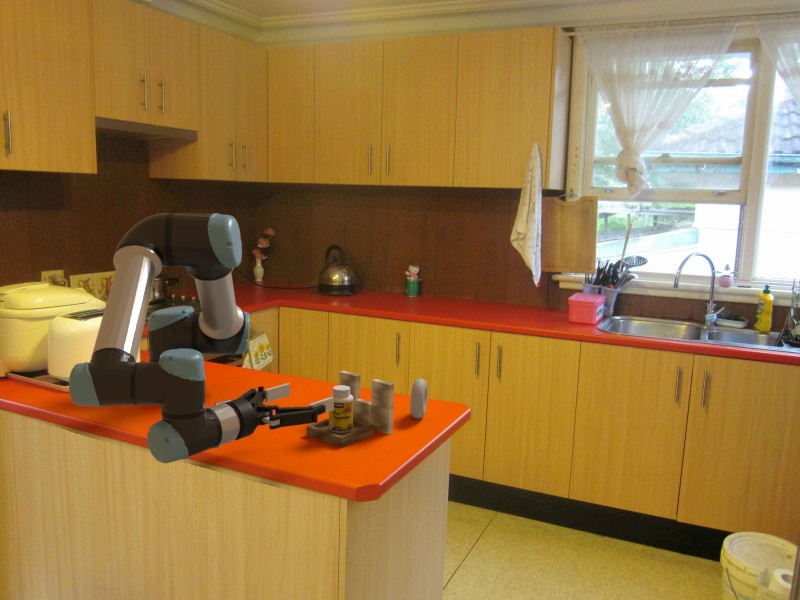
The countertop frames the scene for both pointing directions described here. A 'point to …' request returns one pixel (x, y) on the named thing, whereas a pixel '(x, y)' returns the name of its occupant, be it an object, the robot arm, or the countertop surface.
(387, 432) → the notched board
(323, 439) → the square tray
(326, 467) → the countertop surface
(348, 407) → the supplement bottle
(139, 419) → the countertop surface
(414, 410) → the donut
